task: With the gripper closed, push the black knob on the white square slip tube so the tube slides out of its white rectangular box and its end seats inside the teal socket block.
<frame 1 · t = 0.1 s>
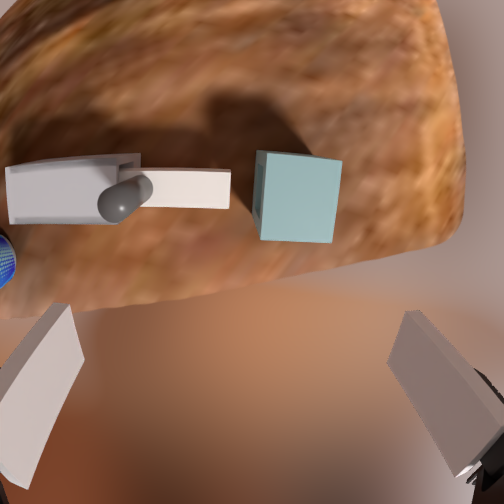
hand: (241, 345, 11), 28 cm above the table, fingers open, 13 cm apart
white rectangular box: (90, 180, 34), on the table
beer can: (2, 254, 36), on the table
slip tube: (105, 192, 26), point 9 cm above the table, slide at 0.0 cm
socket block: (282, 184, 37), on the table
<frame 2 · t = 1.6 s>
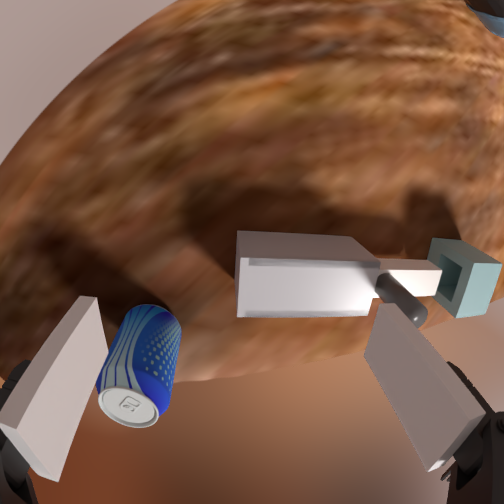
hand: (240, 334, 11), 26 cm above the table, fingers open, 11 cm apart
white rectangular box: (296, 258, 39), on the table
beer can: (153, 324, 41), on the table
slip tube: (368, 292, 31), point 9 cm above the table, slide at 0.0 cm
socket block: (441, 262, 41), on the table
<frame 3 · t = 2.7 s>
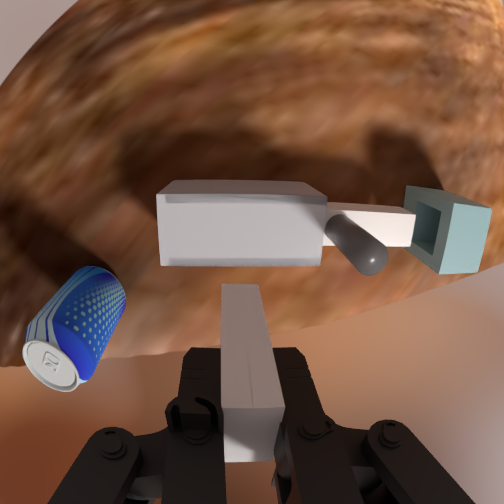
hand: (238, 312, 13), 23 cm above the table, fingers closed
white rectangular box: (242, 208, 35), on the table
beer can: (100, 289, 37), on the table
slip tube: (315, 234, 27), point 9 cm above the table, slide at 0.0 cm
socket block: (422, 216, 37), on the table
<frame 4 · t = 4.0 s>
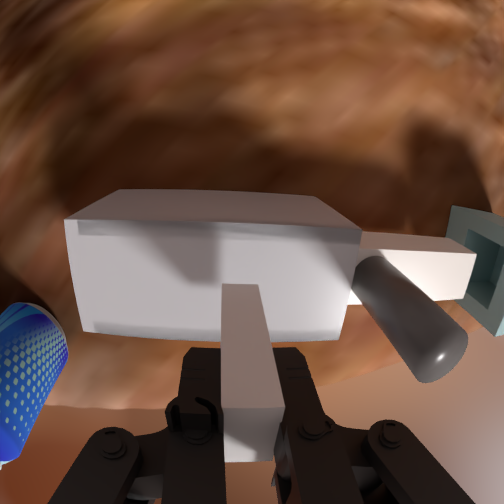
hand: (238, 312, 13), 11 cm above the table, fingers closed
white rectangular box: (219, 233, 23), on the table
beer can: (40, 330, 25), on the table
slip tube: (336, 294, 15), point 9 cm above the table, slide at 0.0 cm
socket block: (465, 246, 25), on the table
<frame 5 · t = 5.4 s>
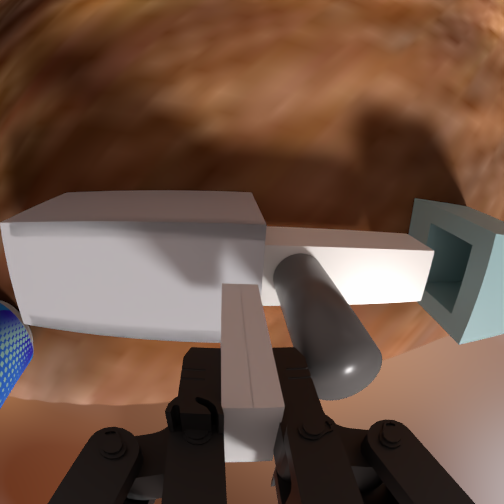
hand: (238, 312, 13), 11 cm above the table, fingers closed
white rectangular box: (157, 233, 22), on the table
beer can: (10, 326, 25), on the table
slip tube: (245, 294, 14), point 9 cm above the table, slide at 0.2 cm, touching gripper
socket block: (434, 243, 25), on the table
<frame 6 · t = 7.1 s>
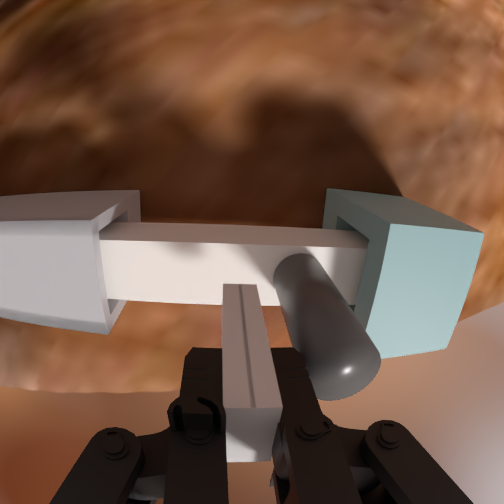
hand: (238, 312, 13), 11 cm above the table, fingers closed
white rectangular box: (65, 230, 22), on the table
slip tube: (245, 294, 14), point 9 cm above the table, slide at 8.6 cm, touching gripper
socket block: (360, 240, 24), on the table
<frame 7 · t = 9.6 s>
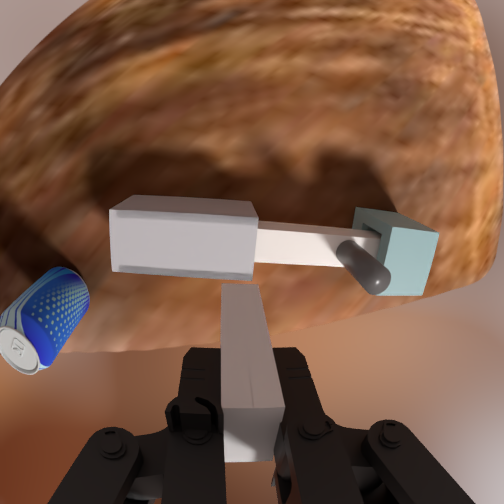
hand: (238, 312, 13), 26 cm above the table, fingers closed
white rectangular box: (192, 223, 38), on the table
beer can: (69, 288, 39), on the table
slip tube: (328, 256, 31), point 9 cm above the table, slide at 8.5 cm
socket block: (372, 237, 40), on the table
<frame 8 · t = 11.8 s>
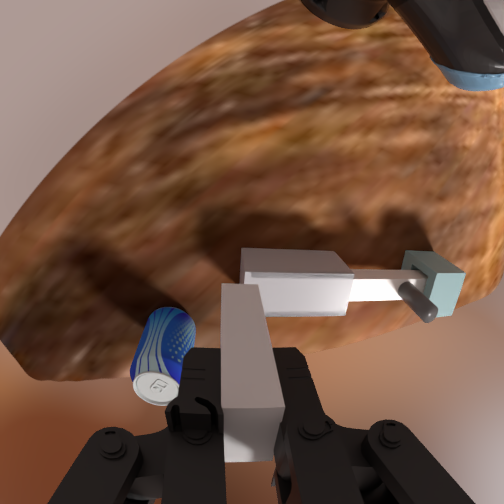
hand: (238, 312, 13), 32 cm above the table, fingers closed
white rectangular box: (289, 269, 48), on the table
beer can: (172, 323, 50), on the table
slip tube: (395, 296, 41), point 9 cm above the table, slide at 8.5 cm
socket block: (415, 271, 51), on the table
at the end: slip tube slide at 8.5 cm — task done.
